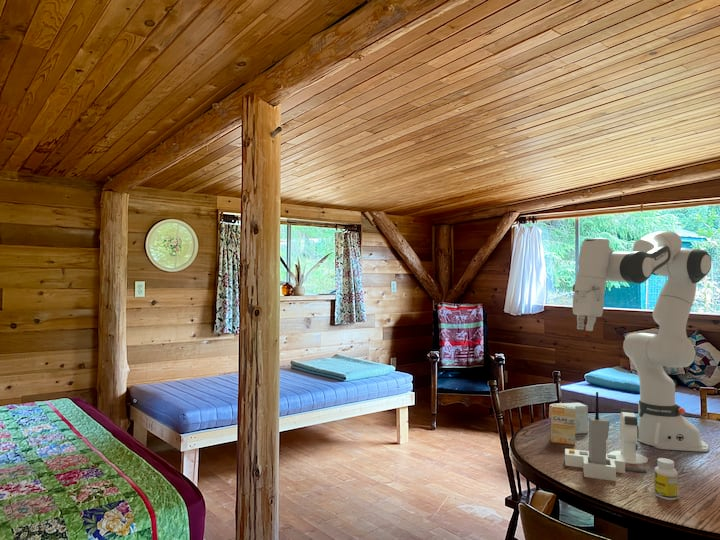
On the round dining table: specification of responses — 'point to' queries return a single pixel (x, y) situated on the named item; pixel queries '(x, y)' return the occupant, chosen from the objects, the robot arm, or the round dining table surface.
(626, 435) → the white holder
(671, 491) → the supplement bottle
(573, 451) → the charging dock
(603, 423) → the vintage mobile phone
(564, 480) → the round dining table surface
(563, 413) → the supplement box
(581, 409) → the skincare box
